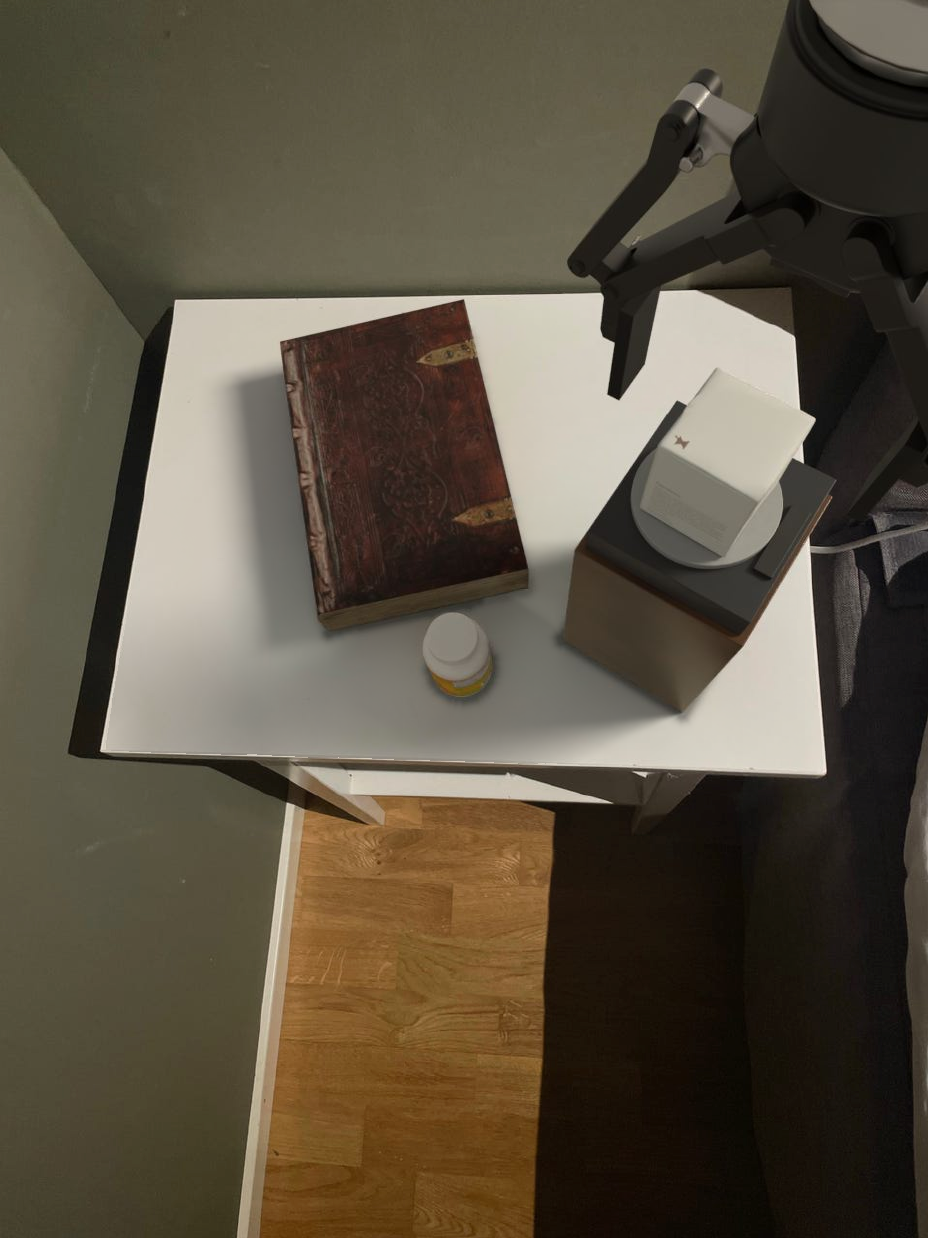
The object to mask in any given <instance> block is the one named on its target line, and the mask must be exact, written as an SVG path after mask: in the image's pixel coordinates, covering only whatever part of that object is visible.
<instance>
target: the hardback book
mask: <svg viewBox="0 0 928 1238" xmlns="http://www.w3.org/2000/svg"><path fill="white" fill-rule="evenodd" d="M279 346H280V347H279V348H280V355H281V363H282V369H283V378H284V385H285V391H286V399H287V408H288V413H289V420H290V427H291V436H292V441H293V451H294V457H295V464H296V471H297V478H298V485H299V492H300V500H301V506H302V514H303V522H304V529H305V535H306V544H307V550H308V557H309V565H310V574H311V579H312V588H313V593H314V601H315V608H316V615H317V620H318V622H319V623H320V624H321V626H322V627H323V628H324V629H325V630H328V631H330V632H333V631H338V630H342V629H346V628H352V627H355V626H360V625H361V626H362V625H365V624H369V623H370V624H371V623H374V622H378V621H383V620H389V619H392V618H397V617H398V618H399V617H401V616H406V615H411V614H416V613H420V612H421V613H422V612H425V611H430V610H435V609H440V608H443V607H448V606H452V605H457V604H461V603H466V602H471V601H475V600H481V599H484V598H490V597H494V596H499V595H502V594H507V593H512V592H513V593H514V592H517V591H523V590H526V589H529V580H530V579H529V577H530V575H529V572H530V571H529V569H530V568H529V564H528V560H527V557H526V552H525V548H524V544H523V540H522V536H521V532H520V527H519V523H518V518H517V515H516V510H515V506H514V502H513V498H512V493H511V489H510V485H509V481H508V477H507V473H506V468H505V465H504V464H505V463H504V459H503V456H502V452H501V448H500V443H499V439H498V436H497V435H498V434H497V431H496V427H495V422H494V417H493V414H492V410H491V405H490V402H489V398H488V397H489V396H488V394H487V389H486V385H485V381H484V376H483V372H482V368H481V364H480V360H479V356H478V351H477V347H476V343H475V340H474V335H473V330H472V327H471V321H470V318H469V314H468V309H467V306H466V302H465V299H464V298H462V299H458V300H453V301H449V302H445V303H441V304H437V305H433V306H428V307H423V308H420V309H415V310H410V311H407V312H402V313H398V314H393V315H389V316H385V317H381V318H375V319H372V320H368V321H367V320H366V321H363V322H358V323H355V324H350V325H345V326H341V327H337V328H333V329H328V330H323V331H321V332H315V333H311V334H307V335H306V334H305V335H302V336H298V337H294V338H288V339H284V340H280V341H279Z"/></svg>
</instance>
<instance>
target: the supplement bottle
mask: <svg viewBox="0 0 928 1238" xmlns="http://www.w3.org/2000/svg"><path fill="white" fill-rule="evenodd" d="M422 655H423V660H424V662H425V664H426V666H427V669H428V670H429V672H430V675H431V676H432V678H433V680H434V683H435V684H436V685H437V687H438V689H440V690H441V691H443V692H444V693H445V694H447V695H450V696H451V697H457V698H465V697H471V696H473V695H476V694H478V693H479V692H480V691H482V690H483V689H484V688H485V687H486V686H487V685H488V683H489V682H490V679H491V677H492V673H493V659H492V653H491V649H490V643H489V639H488V636H487V633H486V631H485V630H484V629H483V627H482V626H481V625H480V624H479V623H478V622H477V621H475V620H474V619H472V618H470V617H468V616H467V615H466V614H463V613H460V612H454V611H453V612H452V611H451V612H446V613H443V614H440V615H439V616H437V617H436V618H434V620H433V621H432V622H431V623H430V625H429V627H428V629H427V631H426V633H425V635H424V638H423V641H422Z"/></svg>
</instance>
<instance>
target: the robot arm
mask: <svg viewBox="0 0 928 1238" xmlns="http://www.w3.org/2000/svg"><path fill="white" fill-rule="evenodd" d="M723 89H724V85H723V81H722V78H721V77H720V75H719V73H717V72H716V71H715V70H713V69H709V68H701V69H698V70H697V71H696V72H695V73H694V74H693V75H692V77H691V78H690V79H689V81H688V82H687V83H686V85H685V86H684V87H683V88H682V90H681V91H679V93H678V95H677V96H676V97H675V98H674V100H673V101H672V103H671V104H670V105H669V106H668V107H667V109H666V111H664V113H663V114H662V115H661V117H660V118H659V120H658V122H657V124H656V128H655V131H654V136H653V139H652V142H651V146H650V150H649V153H648V156H647V159H645V161H644V163H643V164H642V165H641V166H640V167H639V168H638V170H637V171H636V172H635V173H634V174H633V176H632V177H631V178H630V180H628V182H627V183H626V184H625V186H624V187H623V188H622V189H621V190H620V192H618V194H617V195H616V197H615V198H613V200H612V201H611V203H610V204H609V205H608V207H606V209H605V210H604V211H603V212H602V213H601V214H600V216H599V217H598V219H596V221H595V222H594V223H593V225H591V227H590V229H588V231H587V233H586V234H585V235H584V236H583V237H582V239H581V240H580V242H579V243H578V244H577V245H576V247H575V248H574V250H573V251H572V252H571V254H570V255H569V256H568V258H567V259H566V266H567V267H568V269H569V271H570V272H571V274H573V275H574V276H575V277H578V278H581V279H585V278H587V277H589V276H590V277H592V278H593V279H594V280H595V281H596V282H597V283H598V284H599V285H600V289H599V290H600V294H601V295H602V297H603V299H602V300H603V301H602V310H601V317H600V325H599V326H600V327H599V330H600V333H601V336H602V338H603V339H606V340H608V341H610V342H612V343H613V351H612V356H611V357H612V358H611V364H610V372H609V378H608V384H607V391H606V392H607V393H606V395H607V396H609V397H610V398H613V399H615V400H617V401H621V399H622V398H623V396H624V394H625V393H626V392H627V391H628V389H629V387H630V386H631V385H632V383H633V382H634V381H635V379H636V378H637V376H638V375H639V373H640V372H641V370H642V369H643V367H644V366H645V365H646V360H647V356H648V351H649V347H650V342H651V337H652V333H653V327H654V322H655V317H656V314H657V308H658V303H659V298H660V294H661V289H662V286H663V285H666V284H668V283H670V282H673V281H675V280H677V279H680V278H682V277H684V276H687V275H689V274H692V273H693V272H694V273H695V272H696V271H698V270H700V269H701V270H702V269H703V268H705V267H708V266H710V265H713V264H715V263H717V262H719V263H720V264H721V265H723V266H724V265H728V264H729V263H732V262H735V261H737V260H739V259H742V258H744V257H746V256H749V255H751V254H753V253H756V252H758V251H761V250H762V251H763V252H764V254H765V255H766V256H768V257H769V258H770V261H769V263H768V266H770V267H774V268H776V269H777V270H780V271H782V272H785V273H786V274H790V275H791V274H792V275H797V276H801V277H807V278H810V279H811V280H813V281H814V282H815V283H816V284H818V285H820V286H821V287H823V288H824V289H825V290H827V291H829V292H831V293H834V294H836V295H838V296H841V297H843V298H845V299H847V298H848V297H849V296H850V293H854V294H860V296H861V298H862V301H863V304H864V306H865V309H866V311H867V314H868V316H869V319H870V321H871V324H872V327H873V329H874V331H875V332H877V333H885V335H886V337H887V340H888V343H889V345H890V348H891V350H892V353H893V356H894V358H895V361H896V363H897V367H898V369H899V372H900V374H901V377H902V379H903V382H904V385H905V387H906V390H907V393H908V395H909V398H910V401H911V404H912V406H913V408H914V411H915V414H916V417H915V418H914V419H913V420H912V421H911V422H910V424H909V425H908V426H907V427H906V429H905V430H904V431H903V433H901V435H900V436H899V437H898V439H897V440H896V441H895V442H894V444H893V445H892V446H891V447H890V449H889V450H888V451H887V452H886V453H885V455H884V456H883V457H882V458H881V460H879V462H878V464H876V466H875V467H874V468H873V469H872V471H871V472H870V473H869V475H868V476H867V478H866V480H865V482H864V484H862V487H861V488H860V489H859V492H858V494H857V495H856V497H855V498H854V500H853V502H852V504H851V505H850V507H849V509H848V510H847V512H846V514H845V515H846V516H847V517H849V518H851V519H853V520H855V521H857V522H860V523H862V521H863V520H864V519H865V518H866V517H867V515H869V513H871V511H872V510H873V509H874V507H876V505H877V504H878V503H879V502H880V501H881V500H882V498H883V497H885V495H886V494H887V493H888V492H889V491H890V490H891V489H892V487H893V486H895V484H896V483H897V482H898V481H899V480H900V481H901V482H904V483H906V484H908V485H910V486H912V487H914V488H916V489H918V488H921V487H923V486H926V485H927V484H928V0H788V1H787V5H786V9H785V12H784V16H783V19H782V23H781V27H780V30H779V34H778V37H777V40H776V44H775V47H774V51H773V54H772V59H771V61H770V65H769V69H768V72H767V76H766V78H765V83H764V87H763V90H762V92H761V97H760V100H759V104H758V106H757V112H755V114H754V115H753V114H752V113H750V112H748V111H746V110H744V109H742V108H741V107H738V106H736V105H734V104H732V103H730V102H728V101H726V100H724V99H723V98H722V95H723V91H724V90H723ZM719 155H723V156H727V157H729V169H730V173H731V176H732V178H733V180H734V184H735V186H736V190H735V191H733V192H732V193H729V194H728V195H726V196H724V197H723V198H721V199H719V200H717V201H714V202H713V203H711V204H709V205H707V206H705V207H703V208H702V209H701V208H700V210H697V211H696V212H694V213H691V214H689V215H688V216H686V217H684V218H681V219H680V220H678V221H676V222H674V223H671V224H670V225H669V226H667V227H665V228H663V229H661V230H659V231H657V232H655V233H653V234H651V235H650V236H647V237H646V238H643V239H642V240H640V238H641V235H640V234H638V235H637V236H636V237H635V238H634V240H633V241H632V243H631V244H630V245H629V247H627V246H626V245H625V244H624V243H622V242H621V241H622V240H623V239H624V238H625V237H626V235H627V234H629V232H630V231H632V229H633V228H634V227H635V226H636V224H638V223H639V221H640V220H641V219H642V218H643V217H644V216H645V215H646V213H648V212H649V210H651V208H653V206H654V205H655V204H656V203H657V202H658V201H659V199H661V198H662V196H663V195H664V194H665V193H666V192H667V190H668V189H669V188H670V186H671V185H672V184H673V182H674V181H675V180H676V178H677V177H678V175H679V174H680V173H681V172H683V173H686V174H688V173H691V172H692V171H693V170H694V169H695V168H698V169H699V168H703V167H705V166H706V165H708V164H709V162H710V161H711V160H712V158H715V157H716V156H719Z"/></svg>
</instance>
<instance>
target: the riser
mask: <svg viewBox="0 0 928 1238" xmlns="http://www.w3.org/2000/svg"><path fill="white" fill-rule="evenodd" d="M665 417H666V415H664V417H663V419H662V420H661V422H660V423H659V425H658V426H657V428H656V429H655V431H654V432H653V434H652V435H651V436H650V437H649V440H650V439H651V438H652V436H653V435H654V433H655V432H656V430H657V429H658V427H659V426H660V424H661V423H662V421H663V420H664V418H665ZM649 440H648V441H647V443H648V442H649ZM647 443H646V444H645V445H644V447H643V448H642V450H641V451H640V452H639V454H638V456H637V457H636V458H635V460H634V462H633V463H632V465H633V464H634V463H635V461H636V460H637V458H638V457H639V455H640V454H641V452H642V451H643V449H644V448H645V446H646V445H647ZM632 465H631V466H630V467H629V469H628V470H627V472H626V473H625V474H624V476H623V478H622V479H621V480H620V482H619V483H618V485H617V487H615V490H614V491H613V493H614V492H615V491H616V489H617V488H618V486H619V485H620V483H621V482H622V480H623V479H624V477H625V476H626V474H627V473H628V471H629V470H630V468H631V467H632ZM613 493H612V494H611V496H612V495H613ZM611 496H610V497H609V498H608V500H607V501H606V503H605V504H604V506H603V507H602V508H601V510H600V512H599V513H598V514H597V516H596V517H595V519H594V520H593V522H592V524H593V523H594V521H595V520H596V518H597V517H598V516H599V514H600V513H601V511H602V510H603V508H604V507H605V505H606V504H607V502H608V501H609V499H610V498H611ZM832 500H833V496H832V495H831V494H828V495H827V497H826V499H825V500H824V502H823V504H822V505H821V507H820V509H819V510H818V512H817V514H816V515H815V517H814V519H813V520H812V522H811V524H810V525H809V527H808V529H807V530H806V532H805V534H804V535H803V537H802V539H801V540H800V542H799V544H798V545H797V547H796V549H795V550H794V552H793V554H792V555H791V557H790V559H789V560H788V562H787V564H786V565H785V567H784V569H783V570H782V572H781V574H780V575H779V577H778V579H777V580H776V582H775V584H774V585H773V587H772V589H771V590H770V592H769V594H768V595H767V597H766V599H765V600H764V602H763V604H762V605H761V607H760V609H759V610H758V612H757V614H756V615H755V617H754V619H753V620H752V622H751V623H750V624H749V626H748V627H747V628H746V629H745V630H744V631H743V633H742V634H741V635H738V634H736V633H734V632H732V631H731V630H729V629H727V628H725V627H724V626H722V625H720V624H718V623H717V622H715V621H713V620H711V619H710V618H708V617H706V616H704V615H703V614H701V613H699V612H697V611H696V610H694V609H692V608H690V607H689V606H687V605H685V604H683V603H681V602H680V601H678V600H676V599H674V598H673V597H671V596H669V595H667V594H666V593H664V592H662V591H660V590H659V589H657V588H655V587H653V586H652V585H650V584H648V583H646V582H645V581H643V580H641V579H639V578H638V577H636V576H634V575H632V574H630V573H629V572H627V571H625V570H623V569H622V568H620V567H618V566H616V565H615V564H613V563H611V562H609V561H608V560H606V559H604V558H602V557H601V556H599V555H597V554H595V553H594V552H592V551H590V550H588V549H587V548H585V545H586V539H587V533H588V530H589V529H590V527H591V526H592V524H591V525H590V527H589V528H588V529H587V531H586V532H585V533H584V535H583V536H582V538H581V539H580V541H579V543H578V544H577V545H576V546H575V548H574V551H573V558H572V567H571V573H570V581H569V589H568V594H567V595H568V597H567V602H566V603H567V604H566V611H565V619H564V626H563V635H562V641H563V642H565V643H566V644H568V645H570V646H571V647H573V648H575V649H576V650H578V651H580V652H581V653H583V654H585V656H587V657H589V658H591V659H593V660H595V661H596V662H598V664H599V663H600V664H601V665H603V666H604V667H606V668H607V669H609V670H611V671H613V672H614V673H616V674H618V675H619V676H621V677H622V678H624V679H626V680H627V681H629V682H631V683H633V684H634V685H635V686H637V687H639V688H641V690H644V691H646V692H647V693H649V694H650V695H652V696H654V697H656V698H657V699H658V700H660V701H662V702H664V703H665V704H667V705H668V706H670V707H672V708H673V709H675V710H677V711H678V712H680V713H684V712H685V711H686V710H687V709H688V708H689V707H690V706H691V705H692V703H693V702H694V701H695V700H696V699H697V698H698V697H699V696H700V695H701V694H702V692H704V690H705V689H706V688H707V687H708V686H709V685H710V684H711V683H712V682H713V680H714V679H715V678H716V677H717V676H718V675H719V674H720V673H721V672H722V670H723V669H725V667H726V666H727V665H728V664H729V663H730V662H731V661H732V660H733V658H734V657H735V656H736V655H738V653H739V652H740V651H741V650H742V648H744V646H745V645H746V643H747V641H748V640H749V638H750V636H751V635H752V633H753V631H754V630H755V628H756V626H757V625H758V623H759V621H760V620H761V618H762V616H763V614H764V613H765V612H766V610H767V608H768V606H769V605H770V603H771V601H772V600H773V598H774V596H775V595H776V594H777V591H778V589H779V588H780V586H781V584H782V583H783V581H784V580H785V578H786V576H787V574H788V573H789V571H790V569H791V568H792V566H793V564H794V562H795V561H796V560H797V558H798V556H799V554H800V553H801V551H802V549H803V548H804V546H805V544H806V542H808V540H809V538H810V536H811V535H812V532H813V531H814V529H815V528H816V526H817V524H818V523H819V521H820V520H821V518H822V516H823V514H824V512H825V511H826V509H827V508H828V506H829V504H830V503H831V501H832Z"/></svg>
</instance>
